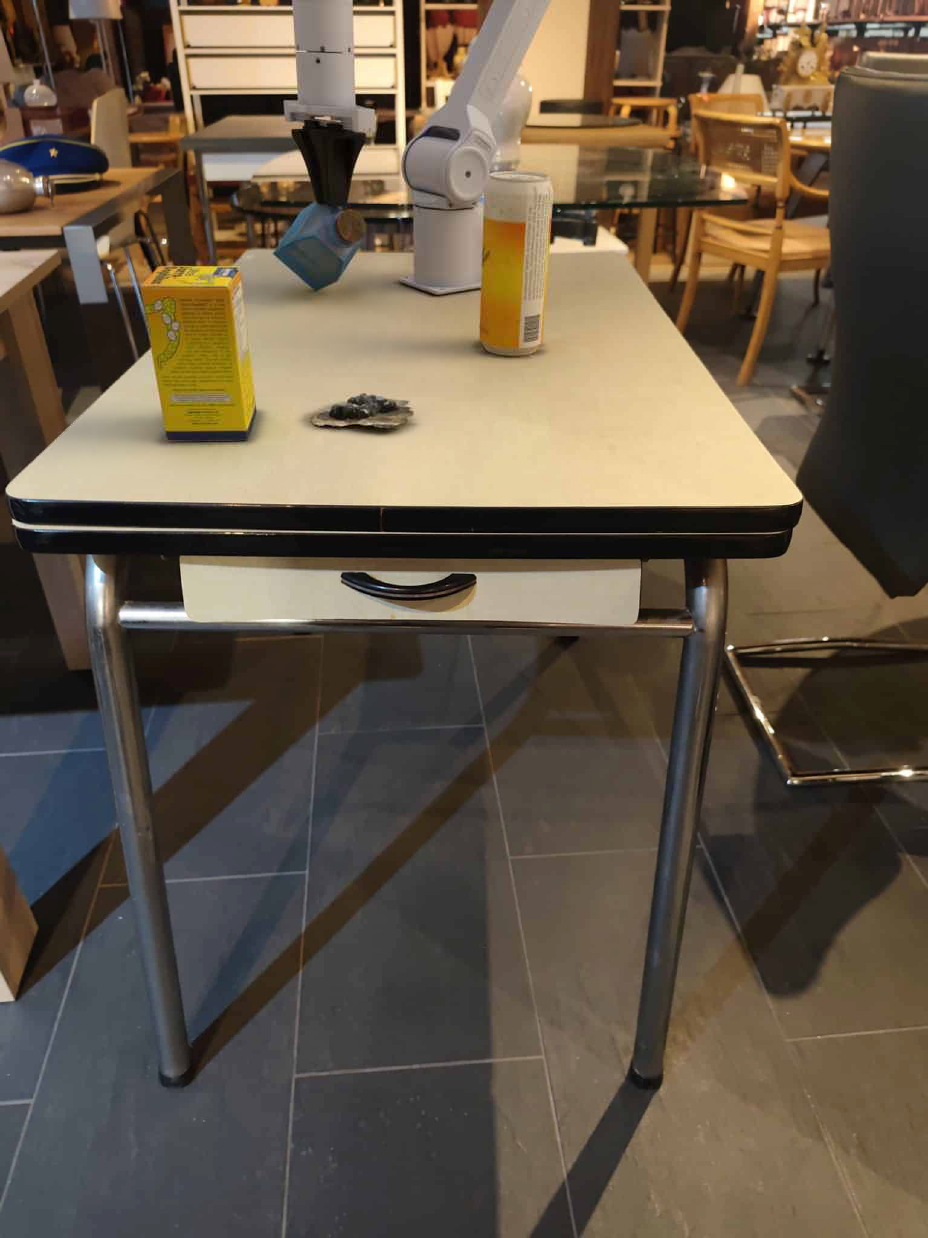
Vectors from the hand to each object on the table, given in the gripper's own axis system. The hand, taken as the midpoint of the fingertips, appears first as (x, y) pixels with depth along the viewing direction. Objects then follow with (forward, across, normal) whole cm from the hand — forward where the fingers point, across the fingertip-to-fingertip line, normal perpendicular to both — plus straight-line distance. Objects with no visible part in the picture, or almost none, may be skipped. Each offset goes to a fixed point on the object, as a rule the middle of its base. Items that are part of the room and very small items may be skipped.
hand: (331, 204), depth 94 cm
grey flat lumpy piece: (+10, +33, -18) cm, 39 cm away
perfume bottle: (+6, -6, 0) cm, 9 cm away
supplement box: (+10, +28, -28) cm, 41 cm away
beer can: (+10, +25, +4) cm, 27 cm away
